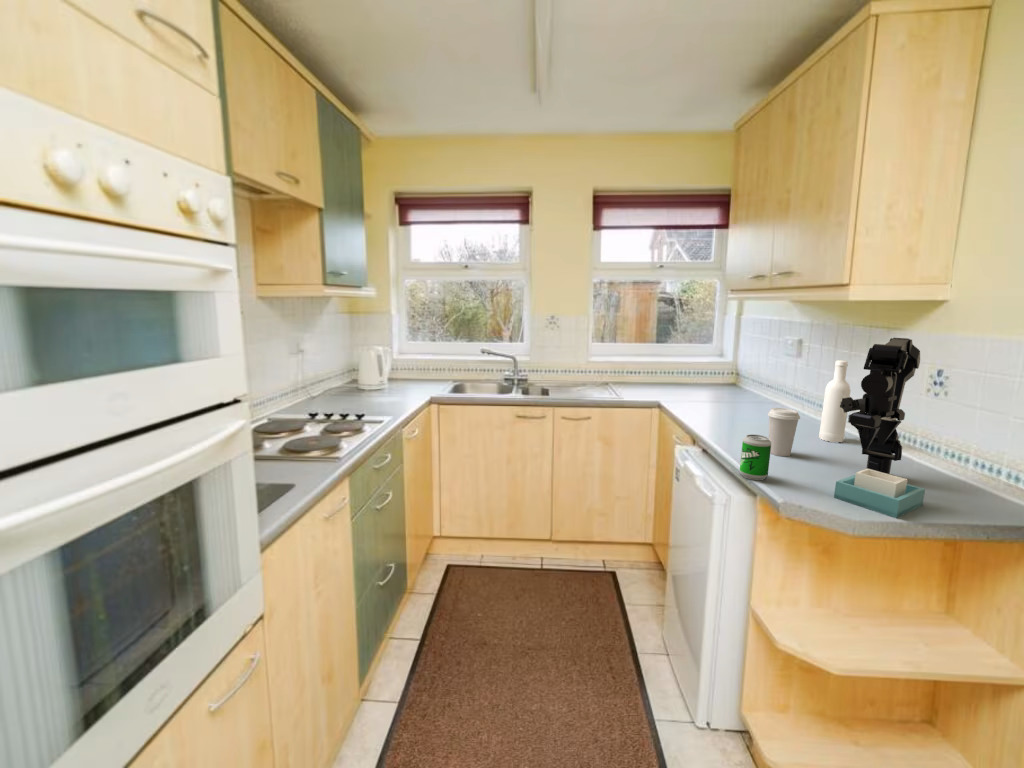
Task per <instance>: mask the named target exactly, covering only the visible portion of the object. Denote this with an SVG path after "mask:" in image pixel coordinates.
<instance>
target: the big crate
mask: <svg viewBox="0 0 1024 768" xmlns="http://www.w3.org/2000/svg"><path fill="white" fill-rule="evenodd" d="M855 475H856V474H853V475H850V476H848V477H844V478H842V479H839V480H836V481H835V487H834V494H833V498H834V499H837V500H841V501H843V502H846V503H848V504H849V503H850V504H852V505H855V506H858V507H862V508H865V509H867V510H871V511H873V512H877V513H880V514H882V515H885V516H889V517H892V518H894V519H897V518H900V517H902V516H903V515H905V514H909V513H910V512H912V511H913V510H916V509H918V508H920V507H922V506H923V503H924V499H925V498H924V497H925V491H926V488H923V487H920V486H916V485H914V484H913V485H912V484H910V483H907V485H906V491H905V494H904V495H902V496H900V497H898V498H894V497H890V496H887V495H884V494H880V493H877V492H874V491H870V490H867V489H864V488H860V487H857V486H854V482H855Z"/></svg>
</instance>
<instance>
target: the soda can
mask: <svg viewBox="0 0 1024 768" xmlns="http://www.w3.org/2000/svg"><path fill="white" fill-rule="evenodd" d="M770 452H771V441H770V440H769V437H767V436H765V435H760V434H747V435H746V436H745V437H742V444H741V453H740V463H739V473H740V474H741V475H742V476H743V478H745V479H748V480H752V481H763V480H764V479H766V478H767V477H768V476H769V470H770V469H769V468H770V458H771V454H770ZM762 479H763V480H762Z"/></svg>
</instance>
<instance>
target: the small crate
mask: <svg viewBox="0 0 1024 768" xmlns="http://www.w3.org/2000/svg"><path fill="white" fill-rule="evenodd" d="M890 474H891V473H890ZM890 474H886V473H882V472H879V471H875V470H871V469H866V468H865V469H862V470H860V471H859V470H858V471H856V472H855V474H854V475H855V482H854V486H857V487H860V488H864V489H867V490H870V491H874V492H877V493H880V494H884V495H887V496H890V497H894V498H898V497H900V496H902V495H904V494H905V491H906V485H907V484H908V479H907V478H904V477H901V476H898V475H897V476H896V475H894V474H891V475H890Z"/></svg>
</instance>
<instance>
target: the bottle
mask: <svg viewBox="0 0 1024 768" xmlns="http://www.w3.org/2000/svg"><path fill="white" fill-rule="evenodd" d="M848 363H849V362H848V361H847V360H843V359H842V360H840V359H839V360H835V363H834V373H833V379H832V380H830V381H829V382H828V383H827V385H826V386H825V389H824V396H823V398H824V399H823V405H822V411H821V412H822V413H821V418H820V427H819V434H818V435H819V436H818V439H819V438H820V439H819V440H821V439H822V440H821V441H823V440H825V441H824V442H827V441H830V442H829V443H833V442H841V443H843V442H844V440H845V436H846V435H845V432H846V424H847V418H848V417H847V416H848V412H845V413H844V410H843V409H842V408H841V407H840V405H841V402H842V399H843V398H848V397H851V391H852V390H851V386H850V384H849V382H848V381H846V376H847V369H848Z"/></svg>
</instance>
